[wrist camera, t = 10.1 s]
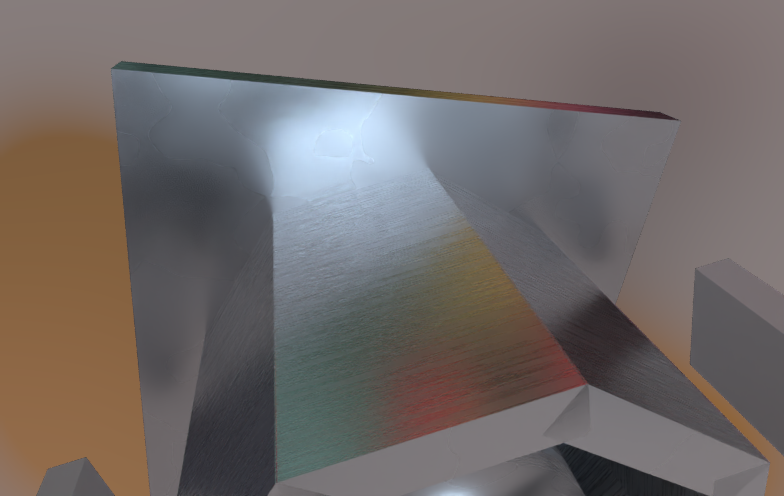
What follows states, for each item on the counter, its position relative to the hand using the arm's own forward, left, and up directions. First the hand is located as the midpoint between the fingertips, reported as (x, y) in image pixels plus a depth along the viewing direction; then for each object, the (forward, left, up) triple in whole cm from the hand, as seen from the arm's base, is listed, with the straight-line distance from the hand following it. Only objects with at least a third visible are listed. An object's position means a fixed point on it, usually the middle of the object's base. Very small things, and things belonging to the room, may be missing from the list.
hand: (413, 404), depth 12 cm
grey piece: (0, -1, -2) cm, 3 cm away
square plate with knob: (0, 0, -3) cm, 3 cm away
